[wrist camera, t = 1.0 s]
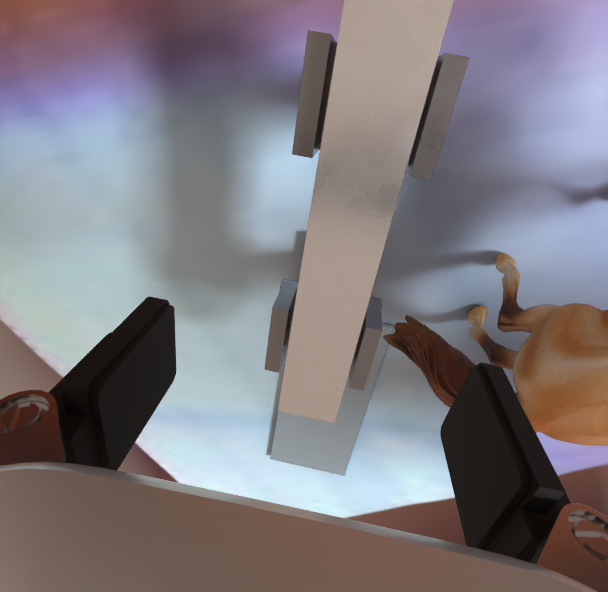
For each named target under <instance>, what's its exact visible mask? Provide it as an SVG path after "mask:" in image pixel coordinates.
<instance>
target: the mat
mask: <svg viewBox="0 0 608 592" xmlns="http://www.w3.org/2000/svg"><path fill="white" fill-rule="evenodd" d="M393 329H394V326H393V325H391V324H386V323H382V334H381V337H380V340H379V343H378V346H377V349H376V353H375V356H374V359H373V362H372V365H371V368H370V371H369V375H368V378H367V381H366V384H365V387H364V390H363V391H362V390H357V389H353V388H349V374H348V378H347V381H346V385H345V388H344V392H343V395H342V399H341V403H340V406H339V410H338V413H337V417H336V420H335V423H331V422H327V421H322V420H318V419H313V418H309V417H304V416H300V415H295V414H291V413H286V412H282V411H278V415H277V421H276V427H275V433H274V439H273V445H272V451H271V457H270V459H273V460H277V461H282V462H286V463H290V464H295V465H299V466H304V467H308V468H312V469H317V470H321V471H326V472H330V473H334V474H339V475H343V476H344V475H345V472H346V469H347V466H348V463H349V460H350V457H351V454H352V451H353V448H354V445H355V442H356V439H357V436H358V433H359V430H360V427H361V424H362V421H363V418H364V415H365V412H366V409H367V407H368V404H369V401H370V398H371V395H372V392H373V389H374V386H375V383H376V380H377V377H378V374H379V371H380V368H381V365H382V362H383V359H384V356H385V353H386V350H387V347H388V344H389V343H387V341H385V340H384V339H383V336H384V335H388V334H392V332H393ZM349 372H350V371H349Z"/></svg>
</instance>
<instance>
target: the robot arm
mask: <svg viewBox="0 0 608 592" xmlns="http://www.w3.org/2000/svg"><path fill="white" fill-rule="evenodd" d="M175 375H176V348H175V318H174V307H173V306H171V305H169V302H168V301H167V300H164V299H159V298H154V297H148V298H146V299H145V300H144V301H143V302H142V303H141V304H140V305H139V306H138V307H137V308H136V309H135V310H134V311H133V312H132V313H131V314H130V315H129V316H128V317H127V318H126V319H125V320H124V321H123V322H122V323H121V324H120V325H119V326H118V327H117V328H116V329H115V330H114V331H113V332H112V333H109V334H108V335H106V336H105V337H104V338H103V339H102V340H101V341H100V342H99V343H98V344H97V345H96V346H95V347H94V348H93V349H92V350H91V351H90V352H89V353H88V354H87V355H86V356H85V357H84V358H83V359H82V360H81V361H80V362H79V363H78V364H77V365H76V366H75V367H74V368H73V369H72V370H71V371H70V372H69V373H68V374H67V375H66V376H65V377H64V378H63V379H62V380H61V381H60V382H59V383H58V384H57V385H56V386H55V387H54V388H53V389H52V390H51V391H50V392H49V393H48V392H45V391H41V390H27V391H21V392H17V393H14V394H12V395H8V396H6V397H4V398H2V399H0V592H608V518H607V517H605V516H604V515H603V514H601V513H599V512H598V511H596V510H594V509H593V508H590V507H588V506H585V505H583V504H576V503H570V501H569V499H568V497H567V495H566V493H565V492H566V491H565V490H564V488H563V486H562V484H561V482H560V480H559V478H558V476H557V474H556V472H555V470H554V468H553V466H552V464H551V462H550V460H549V458H548V456H547V454H546V452H545V451H544V449H543V447H542V445H541V443H540V441H539V439H538V437H537V435H536V433H535V431H534V429H533V427H532V425H531V423H530V421H529V419H528V417H527V415H526V413H525V412H524V410H523V408H522V406H521V404H520V402H519V400H518V398H517V396H516V394H515V392H514V390H513V388H512V386H511V384H510V382H509V380H508V378H507V376H506V374H505V372H504V371H503V369H502V368H501V367H500V366H496V365H491V364H486V363H479V364H478V365H477V366H472V367H471V368H470V370H469V372H468V374H467V376H466V378H465V380H464V382H463V384H462V386H461V388H460V390H459V392H458V394H457V396H456V398H455V400H454V402H453V404H452V406H451V408H450V410H449V412H448V414H447V416H446V418H445V420H444V422H443V424H442V427H441V439H442V444H443V448H444V452H445V456H446V460H447V465H448V469H449V473H450V477H451V482H452V486H453V490H454V494H455V498H456V503H457V507H458V511H459V515H460V519H461V524H462V528H463V532H464V537H465V541H466V544H467V546H464V545H460V544H456V543H452V542H447V541H443V540H439V539H434V538H430V537H425V536H421V535H416V534H412V533H407V532H402V531H398V530H394V529H389V528H384V527H380V526H375V525H371V524H366V523H362V522H358V521H353V520H349V519H344V518H340V517H335V516H330V515H326V514H321V513H317V512H312V511H307V510H303V509H298V508H294V507H289V506H284V505H280V504H275V503H270V502H266V501H261V500H256V499H252V498H247V497H242V496H238V495H233V494H228V493H224V492H219V491H214V490H209V489H205V488H200V487H195V486H190V485H186V484H181V483H176V482H171V481H167V480H162V479H157V478H152V477H147V476H141V475H136V474H131V473H126V472H121V471H117V469H118V468H119V466H120V465H121V463H122V462H123V460H124V459H125V457H126V455H127V454H128V452H129V451H130V449H131V448H132V446H133V444H134V443H135V441H136V440H137V438H138V436H139V435H140V433H141V432H142V430H143V428H144V427H145V425H146V424H147V422H148V420H149V419H150V417H151V416H152V414H153V413H154V411H155V409H156V408H157V406H158V405H159V403H160V401H161V400H162V398H163V397H164V395H165V393H166V392H167V390H168V389H169V387H170V385H171V384H172V382H173V380H174V378H175Z"/></svg>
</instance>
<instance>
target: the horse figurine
mask: <svg viewBox="0 0 608 592" xmlns="http://www.w3.org/2000/svg"><path fill="white" fill-rule="evenodd" d="M495 265H496V268H497V269H498V270H499V271H500V272H501V273H504V276H503V279H502V281H503V303H502V307H501V310H500V312H499V318H498V328H499V330H501V331H503V332H511V331H524V332H530V333H531V334H530V336H529V337H528V338H527V340H526V341H525V343H524V344H523V345H522V346H521V348H520V350H519V352H516V351H512V350H510V349H507V348H505V347H504V346H501V345H499V344H497V343H495V342H494V341H493V340H492V339H491V338H490V337H489V336H488V334H487V333H486V332H485V330H484V328H483V325H484V322H485V318H486V315H487V309H486V307H484V306H477V307H474V308H473V309H472V310H471V311H470V312H469V314H468V318H467V319H468V321H469V324H470V325H471V326H472V327H471V328H470V330H469V334H470V336H471V337H472V338H473V339H475V340H476V341H477V342H478V343H479V344H480V345H481V347H482V348H483V349H484V351H485V352H486V354H487V356H488V358H489V360H490V362H491V363H492V364H493V365H496V366H500V367H503V368H508V369H511V370H513V378H514V383H515V387H516V390H517V393H516V396H517V398H518V400H519V402H520V404H521V406H522V408H523V410H524V412H525V413H526V415H527V417H528V419H529V421H530V423H531V425H532V427H533V429H534V431H535V433H536V432H542V433H544V434H545V435H547V436H549V437H551V438H553V439H556V440H560V441H565V442H570V443H575V444H581V445H597V446H608V310H606V311H601V310H599V309H597V308H595V307H593V306H591V305H588V304H568V305H565V306H557V305H549V304H548V305H538V306H534V307H531V308H528V309H526V310H523V309H521V308H520V307H519V306H518V304H517V302H516V297H517V290H518V285H519V280H520V275H519V272H518V270H517V268H516V262H515V260H514V259H512V258H511V257H510V256H509V255H507V254H505V253H501V254H499V255H498V256H497V259H496V262H495ZM405 319H406V321H407V323H409V324H406V323H396V324H395V326H394V329H395V333H394V334H388V335H384V336H383V339H384V340H385V341H387V343H389V344H390V345H392V346H393V347H395V348H397V349H399V350H401V351H402V352H403V353H404V354H405V355H406V356H407V357H408V358H409V359H410V360H412V361H413V362H414V363H415V364H416V365H417V366H418V367H419V368H420V369H421V370H422V371H423V373H424V375H425V376H426V378H427V380H428V382H429V384H430V386H431V388H432V390H433V391H434V393H435V394H436V396H437V397H438V398H439V399H440V400H441V401H442V402H443V403H444V404H445V405H447V406H448V407H450V408H451V406H452V404H453V402H454V400H455V398H456V396H457V394H458V392H459V390H460V388H461V386H462V384H463V382H464V380H465V378H466V376H467V374H468V372H469V370H470V368H471V367H472V366H476V365H475V364H473V363H472V362H471V361H470V360H469V359H468V358H467V357H466V356H465V355H464V354H463V353H461V352H460V351H459V350H457V349H455V348H453V347H452V346H451V345H449V344H448V343H447V342H445V340H444V339H442V338H441V337H440V336H439V335H438V334H436V333H435V332H434V331H432V330H430V329H429V328H428V327H427V326H425V325H423V324H422V323H420V322H419V321H417V320H415V319H414V318H412V317H409V316H405Z"/></svg>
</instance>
